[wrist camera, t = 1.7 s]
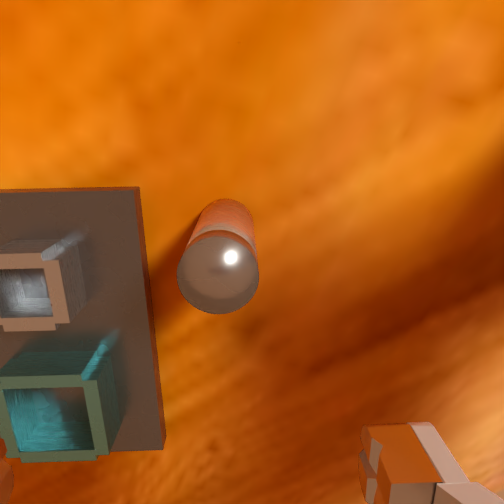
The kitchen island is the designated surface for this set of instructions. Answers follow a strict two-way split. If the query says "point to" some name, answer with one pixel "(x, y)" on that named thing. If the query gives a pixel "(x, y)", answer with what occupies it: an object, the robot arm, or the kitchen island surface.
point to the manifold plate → (76, 326)
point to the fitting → (220, 259)
